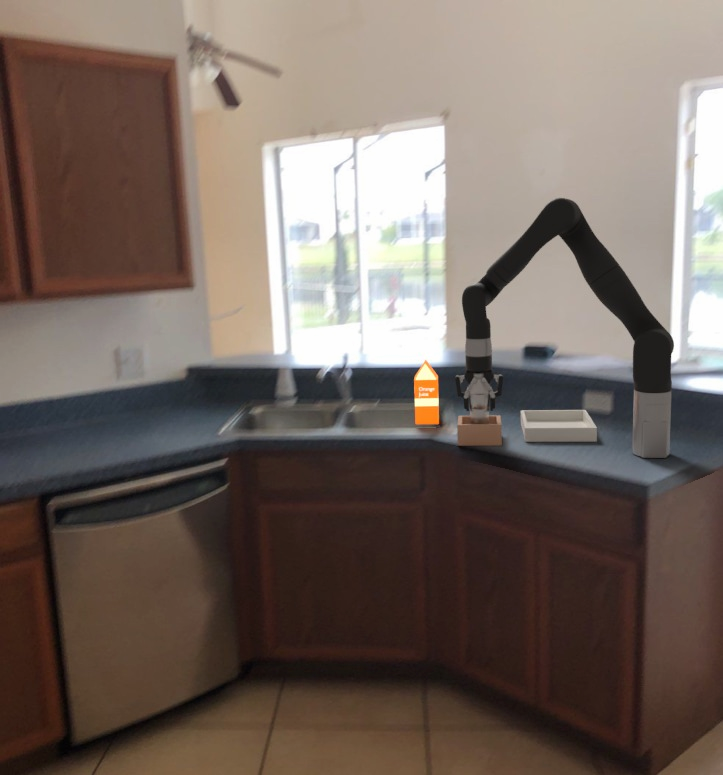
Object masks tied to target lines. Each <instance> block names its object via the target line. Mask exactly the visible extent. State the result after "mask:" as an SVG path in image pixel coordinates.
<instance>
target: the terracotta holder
mask: <svg viewBox="0 0 723 775" xmlns="http://www.w3.org/2000/svg"><path fill="white" fill-rule="evenodd" d="M501 418H502V416H501V415H496V414H495V415H493V414H489V420H490V424H469V423H470V415H458V418H457V426H456V427H457V431H456V432H457V446H502V442H503V440H502V437H503V436H502V419H501Z"/></svg>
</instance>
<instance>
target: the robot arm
mask: <svg viewBox="0 0 723 775" xmlns="http://www.w3.org/2000/svg"><path fill="white" fill-rule="evenodd" d="M579 206H580V205H578V204H577V202H575V201H574V200H572V199H569V198H565V197H556V198H554V199H551V200H550V201H548V202H547V203H546V204H545V205H544V207H543V208H542V209H541V211H540V212H539V213H538V215H537V217H536V218H535V219H534V221H533V222H531V224H530V226H529V227H528V228H527V229H526V230H525V232H524V233H523V234H522V235H521V236H520V237H519V238H518V239H517V240H516V241H515V242H514V243H513V244H512V245H511V246H510V247H509V248H508V249H507V250H506V251H505V252H504V253H502V254H501V256H499V257H498V259H496V260H495V261H494V262H493V263H492V264H491V265H490V266H489V268H488V269H487V270H486V273H485V274H484V276H482V278H480V280H479V281H477V282H476V283H474V284H469V285H468V286H467V287H465V289H464V290H463V291H462V292H463V293H462V297H461V306H462V312H463V317H464V320H465V321H464V322H465V347H464V348H465V349H464V350H465V351H464V353H465V372H464V374H463V375H459V374H456V375H455V378H454V379H455V386H456V394H457V395H456V396H458V397H461V398H462V399H463V408H464V410H465V411H466V412H469V411H470V401H469V391H470V387H472V385H473V384H475V383H476V381H477V379H476V378H475V377H474V374H473V373H482V372H483V373H484V376H483V377H482V379H481V380H482V382H483V384H485V386H486V387H487V388H488V391H489V394H490V399H489V410H490V411H491V412H493V411H494V410H495V408H496V398H498V397H501V396H502V393H503V381H504V376H503V374H494V372H493V348H492V339H491V335H492V334H491V321H490V319H489V318H488V316H487V306H489V305H490V304H491V303H492V302H494V300H495V299H496V298H497V297H498V295H499V294H501V292H502V291H503V289H504V288H505V287H506V286H508V285H509V284H510V283H512V281H513V280H514V279H516V277H517V276H518V275H519V274H520V273H521V272H523V271H524V269H525V268H527V267H526V266H527V265H528V264H529V263H530V261H532V259H534V257H535V255H536V254H537V253H538V252H539V251H540V250H541V249H543V247H544V246H546V244H548V243H549V242H550V241H552V240H553V239H555V238H556V237H558V236H559V237H560V239H562V241H563V242H564V243H565V244H566V246H567V247H568V248H569V249H570V251H571V252H572V254H573V255H574V257H575V260H576V263H577V266H578V267H579V269H580V273H581V274H582V277H583V278H584V281H585V282H586V284H587V285H588V286H589V288H590V289H591V290H592V292H593V293H594V295H595V296H596V298H597V299H598V300H599V301H600V303H602V305H603V306H604V307H605V308H606V309H607V310H608V311H609V312H610V313H611V314H613V315H614V316H615V317H616V318H617V319H618V320H619V321H620V322H621V323H622V324H623V326H624V327H625V329H626V330H627V331H628V334H629V335H630V336H631V338H632V340H633V349H632V380H633V404H632V405H633V406H632V407H633V408H632V409H633V412H632V414H633V416H632V454H633V455H635V456H638V457H641V458H642V459H643V458H644V459H647V458H649V459H653V458H654V459H656V458H657V459H660V458H661V459H663V458H664V459H667V457H668V456H670V447H671V446H670V443H671V438H670V437H671V416H672V415H671V414H672V413H671V411H672V389H673V388H672V386H673V382H672V353H673V352H674V349H675V348H674V347H675V345H674V344H675V342H674V338H673V337H672V335H671V333H670V332H669V331H668V330H667V329H666V328H665V327H664V326H663V325H662V323H661V322H660V321H659V320H658V319H657V318H656V317H655V315H654V314H652V312H651V311H650V310H649V308H648V307H647V305H646V303H645V302H644V301H643V299H642V297H641V296H640V294H639V292H638V291H637V289H636V287H635V286H634V284H633V282H632V281H631V279H630V277H629V276H628V275H627V274H626V272H625V271H624V269H623V268H622V267H621V265H620V264H619V263H618V261H617V260H616V258H614V256H613V255H612V254H611V252H610V251H609V250H608V248H607V247H606V246H605V245H604V244H603V243H602V242H601V241H600V239H599V238H598V237H597V236H596V234H595V232H594V231H593V229H592V228H591V226H590V225H589V223H588V221H587V220H586V217H585V216H584V214H583V212H582V210H581V208H580V207H579ZM493 379H494V380H495V382H496V383H497V387H496V388H497V390H496V391H494V389H493V388H492V385H491V383H492V381H493ZM464 380H465V381H466V382H467V384H468V385H467V388H466V390H465V391H462V383H463V381H464ZM486 384H487V385H486ZM490 411H489V412H490Z"/></svg>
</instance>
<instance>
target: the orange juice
mask: <svg viewBox="0 0 723 775" xmlns="http://www.w3.org/2000/svg"><path fill="white" fill-rule="evenodd" d="M413 383H414V385H413V386H414V387H413V389H414V417H415V418H414V420H415V425H439V424H440V414H439V413H440V412H439V410H440V407H439V404H440V403H439V375H438V374H437V373H436V371H435V370H434V369H433V367H432V366H431V364H430V363H429V362H428V360H427V359H425V360H424V362H423V363H422V365H421V366H420V367H419V369H418V371H417V372H416V374H415V375H414V379H413Z"/></svg>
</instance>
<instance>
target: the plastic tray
mask: <svg viewBox="0 0 723 775" xmlns="http://www.w3.org/2000/svg"><path fill="white" fill-rule="evenodd" d="M520 426H521V430H522V433H523V438H524V442H527V443H530V442H531V443H532V442H534V443H540V442H542V443H543V442H544V443H545V442H548V443H549V442H552V443H553V442H560V443H561V442H563V443H565V442H567V443H568V442H576V443H577V442H583V443H585V442H595V443H597V442H598V427H597V425H596V424H595V422H594V421H593V419H592V417H591V416H590V414H589V413H588V411H587V410H586V409H547V410H546V409H545V410H544V409H542V410H541V409H539V410H537V409H536V410H535V409H534V410H533V409H528V410H525V409H524V410H523V409H522V410H521V409H520Z"/></svg>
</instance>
